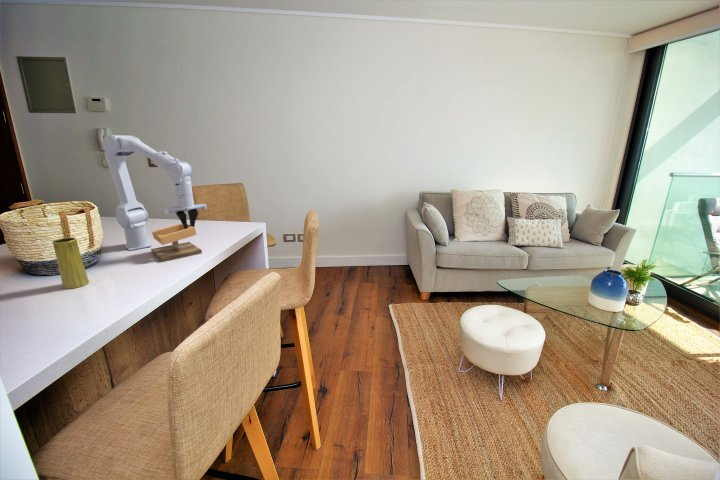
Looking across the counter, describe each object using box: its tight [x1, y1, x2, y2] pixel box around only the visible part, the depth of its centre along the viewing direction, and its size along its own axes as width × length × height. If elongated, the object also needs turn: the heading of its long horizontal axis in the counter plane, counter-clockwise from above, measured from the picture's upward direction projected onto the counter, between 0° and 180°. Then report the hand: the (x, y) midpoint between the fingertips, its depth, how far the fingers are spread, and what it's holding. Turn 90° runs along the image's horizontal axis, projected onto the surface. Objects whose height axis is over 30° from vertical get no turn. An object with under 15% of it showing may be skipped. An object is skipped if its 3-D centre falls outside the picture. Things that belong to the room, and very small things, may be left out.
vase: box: [52, 237, 90, 290], centre depth 95 cm, size 6×6×14 cm
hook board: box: [150, 240, 203, 263], centre depth 124 cm, size 14×14×6 cm
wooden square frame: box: [151, 222, 198, 246], centre depth 123 cm, size 12×12×3 cm
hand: (189, 229), depth 125 cm, fingers closed on wooden square frame, 2 cm apart
